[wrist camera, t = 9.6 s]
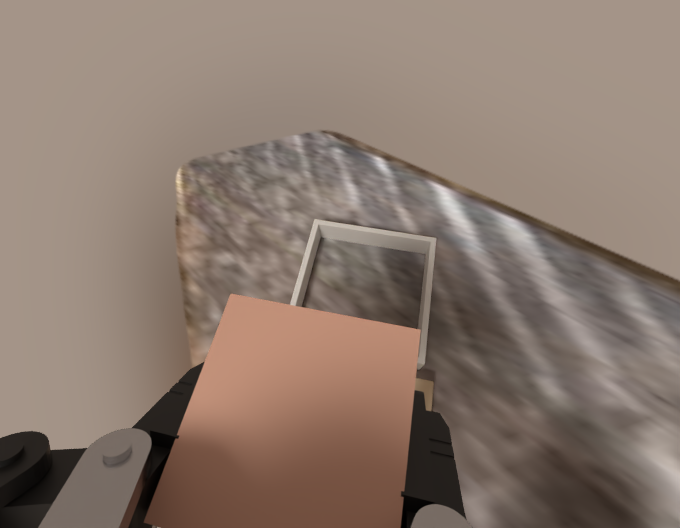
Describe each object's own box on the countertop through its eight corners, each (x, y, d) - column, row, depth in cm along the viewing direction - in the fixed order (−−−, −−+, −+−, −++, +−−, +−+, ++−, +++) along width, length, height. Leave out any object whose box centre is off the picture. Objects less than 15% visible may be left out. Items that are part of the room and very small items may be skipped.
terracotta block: (388, 379, 15) (420, 329, 8) (371, 509, 13) (393, 593, 6) (284, 357, 16) (231, 293, 9) (250, 478, 14) (143, 522, 7)
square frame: (431, 250, 34) (436, 238, 32) (419, 369, 29) (424, 364, 27) (317, 232, 36) (314, 219, 34) (286, 342, 31) (281, 335, 28)
